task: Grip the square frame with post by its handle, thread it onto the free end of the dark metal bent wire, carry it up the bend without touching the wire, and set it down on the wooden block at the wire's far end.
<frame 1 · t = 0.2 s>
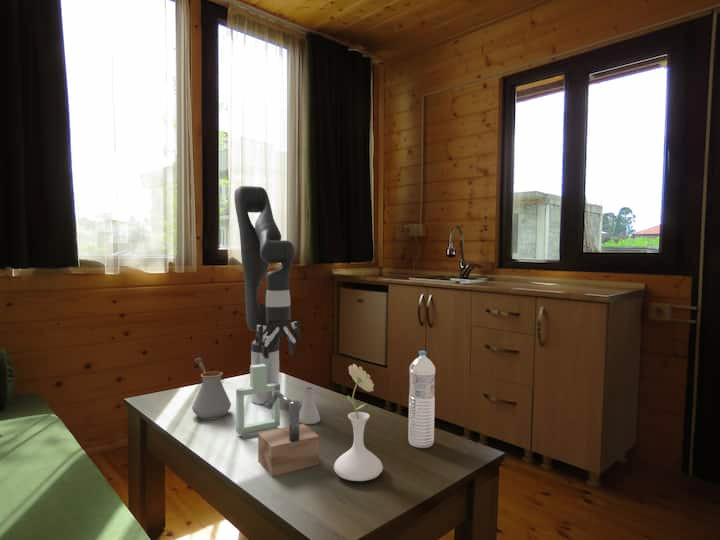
hand: (278, 356, 146), 18 cm above the table, tool pointing down, fingers open, 8 cm apart
coffee pot: (207, 410, 149), on the table
wooden block: (288, 462, 114), on the table
square frame with post: (258, 432, 132), on the table
flask: (308, 421, 141), on the table
water bottle: (421, 444, 125), on the table
flower in vase: (357, 473, 109), on the table
bent wire: (278, 452, 119), resting on wooden block
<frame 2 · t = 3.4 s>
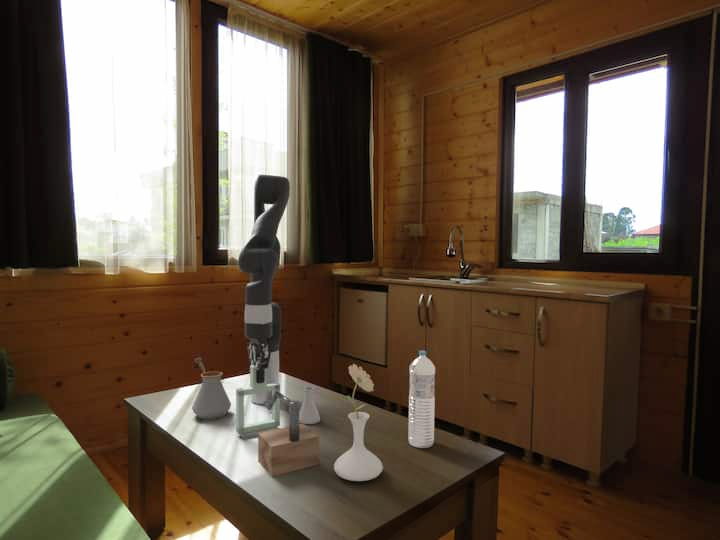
hand: (258, 381, 131), 15 cm above the table, tool pointing down, fingers closed on square frame with post, 2 cm apart
square frame with post: (258, 432, 132), on the table, touching gripper
everything else where it was.
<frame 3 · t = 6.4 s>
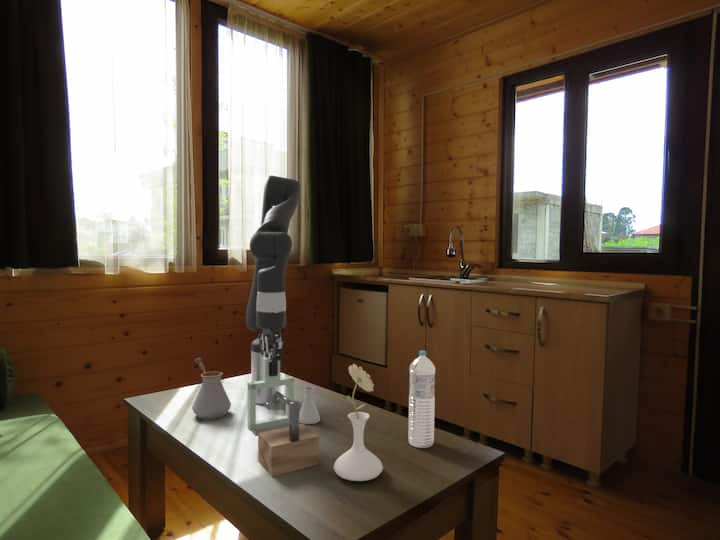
hand: (271, 374, 122), 19 cm above the table, tool pointing down, fingers closed on square frame with post, 2 cm apart
square frame with post: (271, 429, 123), point 4 cm above the table, touching gripper
everything else where it was.
when the fingers open (23 cm above the table, at t = 9.7 s): square frame with post stays where it is, resting on wooden block.
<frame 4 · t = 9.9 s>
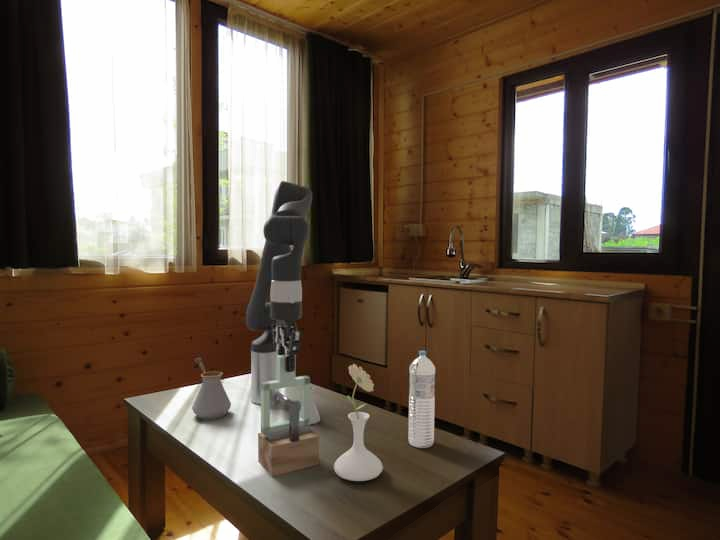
hand: (286, 368, 114), 23 cm above the table, tool pointing down, fingers open, 4 cm apart
square frame with post: (285, 432, 115), point 7 cm above the table, touching wooden block
everything else where it was.
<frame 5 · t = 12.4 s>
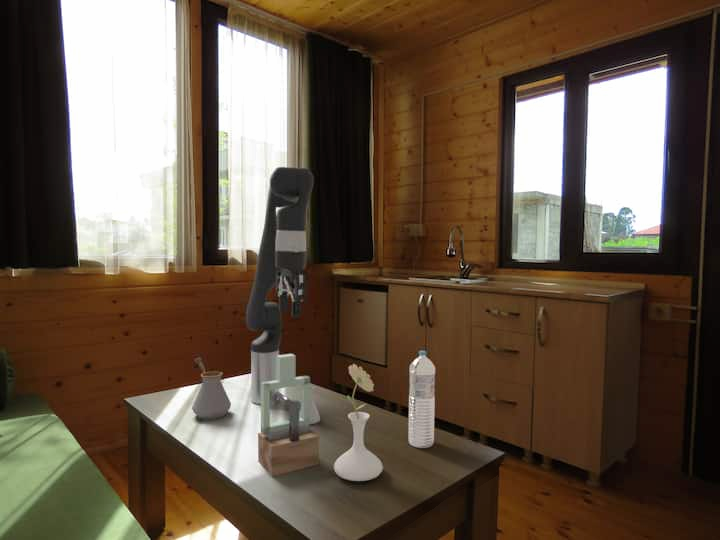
hand: (289, 314, 117), 36 cm above the table, tool pointing down, fingers open, 8 cm apart
nothing on the table moved.
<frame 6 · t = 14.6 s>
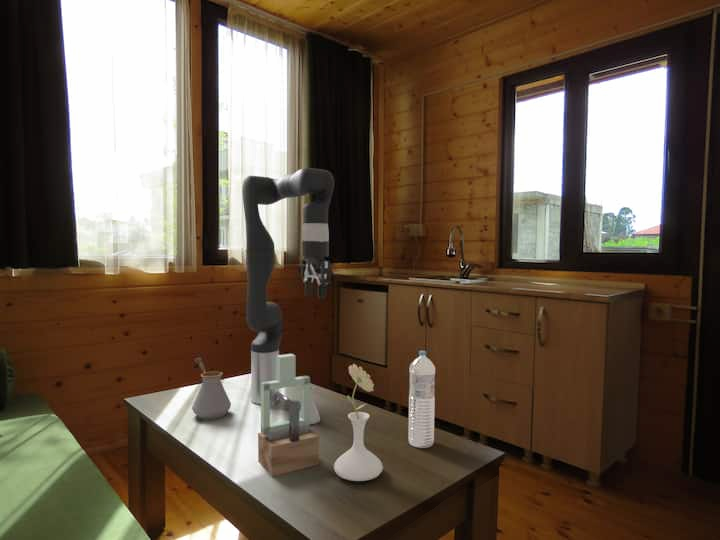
hand: (315, 296, 133), 38 cm above the table, tool pointing down, fingers open, 8 cm apart
nothing on the table moved.
at the end: square frame with post 0.1 cm from the target spot, point 7.0 cm above the table; square frame with post touching wooden block; square frame with post tilted 0° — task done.
